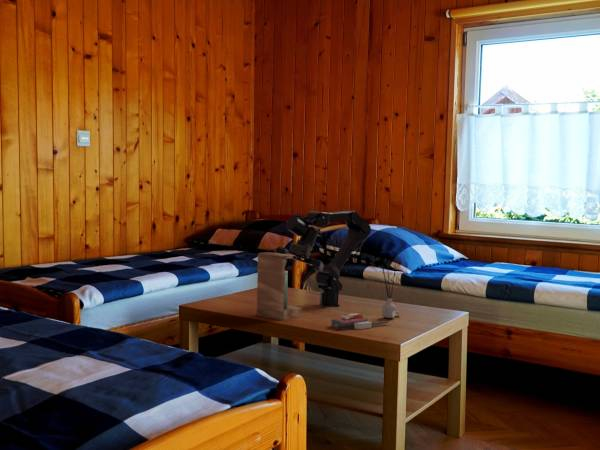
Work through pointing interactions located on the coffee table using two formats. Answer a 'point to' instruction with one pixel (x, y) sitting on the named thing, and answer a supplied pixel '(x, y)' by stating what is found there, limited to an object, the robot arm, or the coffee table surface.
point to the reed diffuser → (389, 301)
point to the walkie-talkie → (354, 322)
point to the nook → (273, 287)
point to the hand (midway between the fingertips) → (290, 279)
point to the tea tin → (285, 289)
